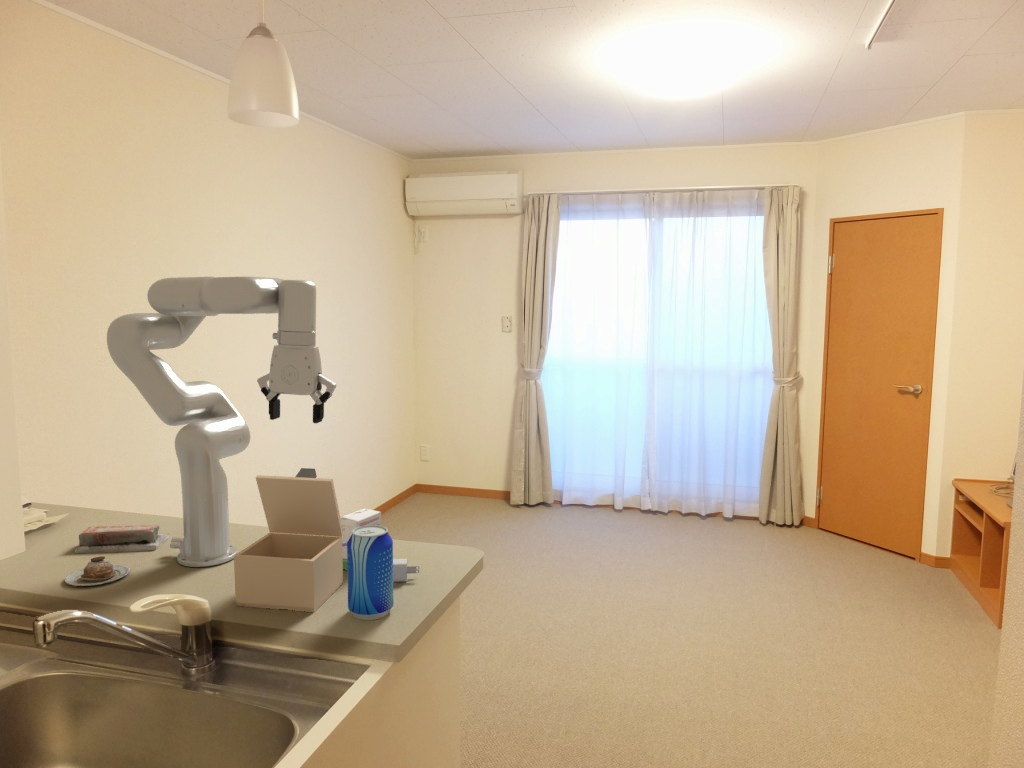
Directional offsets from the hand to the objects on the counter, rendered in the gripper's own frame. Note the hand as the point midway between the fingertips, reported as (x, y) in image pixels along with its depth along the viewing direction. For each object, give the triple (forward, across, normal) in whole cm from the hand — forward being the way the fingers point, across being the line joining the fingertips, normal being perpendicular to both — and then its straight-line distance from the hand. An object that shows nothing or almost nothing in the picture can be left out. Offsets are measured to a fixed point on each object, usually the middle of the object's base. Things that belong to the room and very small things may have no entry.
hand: (296, 420), depth 152 cm
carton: (+33, +5, -12) cm, 35 cm away
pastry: (+36, -39, -11) cm, 54 cm away
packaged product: (+36, -48, +8) cm, 60 cm away
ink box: (+33, +13, +6) cm, 36 cm away
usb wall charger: (+33, +24, +1) cm, 41 cm away
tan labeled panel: (+17, +4, -7) cm, 18 cm away
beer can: (+32, +24, -16) cm, 43 cm away
